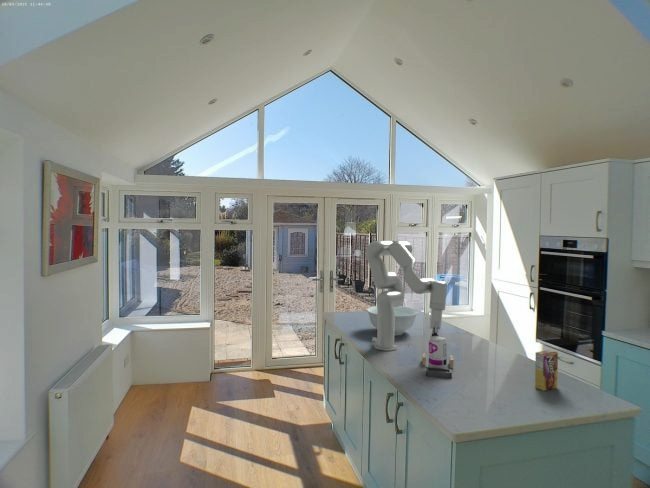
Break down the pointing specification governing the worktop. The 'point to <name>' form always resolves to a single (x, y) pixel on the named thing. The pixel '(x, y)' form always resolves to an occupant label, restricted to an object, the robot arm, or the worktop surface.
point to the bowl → (396, 318)
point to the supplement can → (437, 352)
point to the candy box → (546, 370)
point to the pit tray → (438, 372)
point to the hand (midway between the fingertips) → (434, 341)
